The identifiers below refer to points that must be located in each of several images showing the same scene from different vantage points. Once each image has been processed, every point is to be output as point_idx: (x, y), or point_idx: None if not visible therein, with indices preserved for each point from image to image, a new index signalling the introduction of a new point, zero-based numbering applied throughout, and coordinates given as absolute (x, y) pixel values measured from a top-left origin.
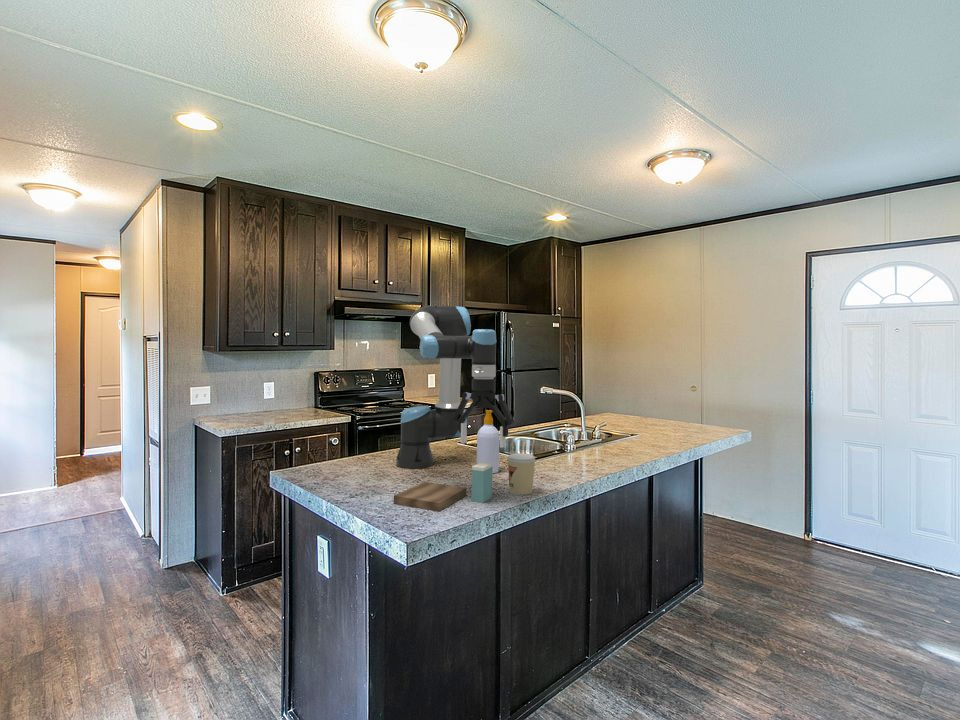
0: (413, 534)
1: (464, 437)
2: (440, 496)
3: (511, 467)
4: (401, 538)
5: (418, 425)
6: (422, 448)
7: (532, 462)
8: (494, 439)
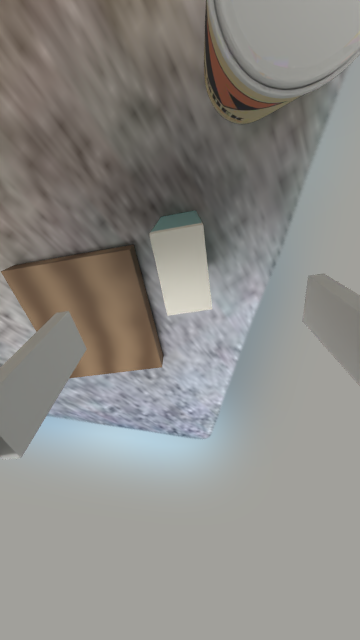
0: (197, 424)
1: (66, 354)
2: (133, 338)
3: (251, 100)
4: (193, 436)
5: None
6: None
7: None
8: None
